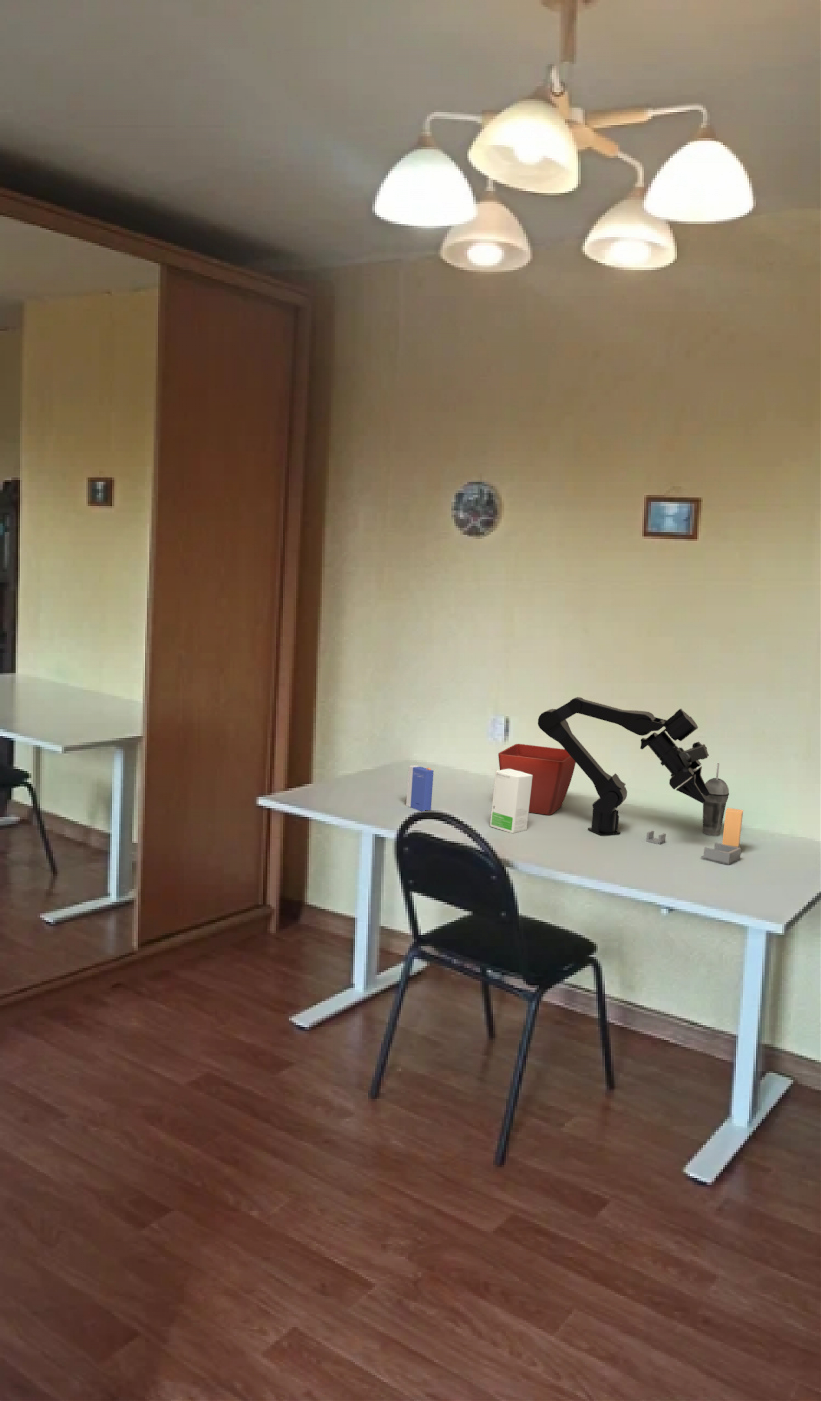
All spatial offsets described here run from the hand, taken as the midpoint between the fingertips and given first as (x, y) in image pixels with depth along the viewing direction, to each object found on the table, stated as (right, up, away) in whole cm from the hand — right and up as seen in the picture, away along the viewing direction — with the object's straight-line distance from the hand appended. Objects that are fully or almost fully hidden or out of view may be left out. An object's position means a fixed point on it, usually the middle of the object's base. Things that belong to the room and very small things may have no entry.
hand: (706, 798), depth 294 cm
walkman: (-75, -5, +25) cm, 79 cm away
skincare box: (-51, -9, +9) cm, 52 cm away
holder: (+1, -15, -9) cm, 17 cm away
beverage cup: (+6, -11, +17) cm, 21 cm away
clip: (-12, -12, +4) cm, 18 cm away
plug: (+6, -14, -1) cm, 15 cm away
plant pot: (-41, -6, +34) cm, 54 cm away
